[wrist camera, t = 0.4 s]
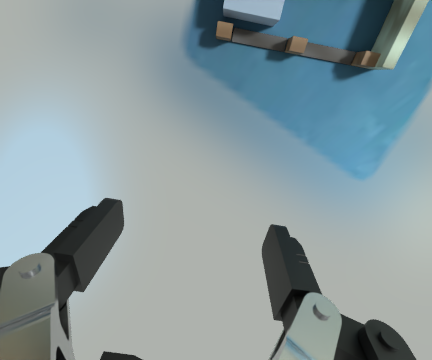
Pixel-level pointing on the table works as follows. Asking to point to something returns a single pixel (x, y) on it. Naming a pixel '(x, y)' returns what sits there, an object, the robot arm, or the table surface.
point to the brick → (254, 10)
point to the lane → (376, 59)
